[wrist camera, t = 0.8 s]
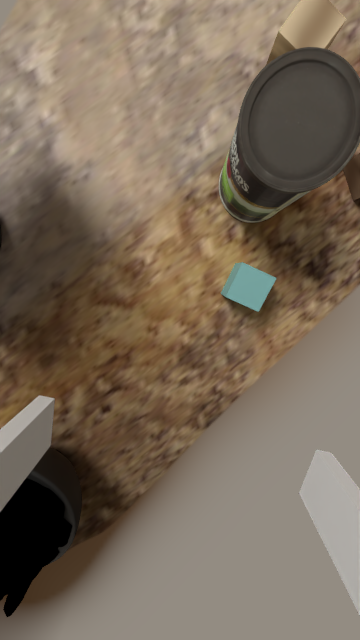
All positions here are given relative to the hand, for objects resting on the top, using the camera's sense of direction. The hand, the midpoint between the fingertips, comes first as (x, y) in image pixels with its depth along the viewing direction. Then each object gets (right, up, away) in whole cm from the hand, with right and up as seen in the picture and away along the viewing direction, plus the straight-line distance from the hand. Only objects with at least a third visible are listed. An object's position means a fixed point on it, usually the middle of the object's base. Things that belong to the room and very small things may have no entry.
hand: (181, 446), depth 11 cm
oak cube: (+14, +39, +18) cm, 45 cm away
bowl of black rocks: (-25, -22, +33) cm, 47 cm away
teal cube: (+10, +12, +24) cm, 29 cm away
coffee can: (+11, +25, +21) cm, 35 cm away
